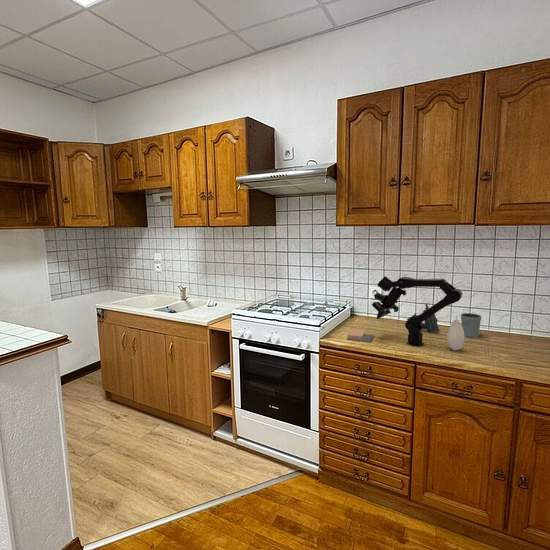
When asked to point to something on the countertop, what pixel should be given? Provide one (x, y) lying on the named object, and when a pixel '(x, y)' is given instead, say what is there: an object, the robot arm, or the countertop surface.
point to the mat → (366, 338)
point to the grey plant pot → (470, 324)
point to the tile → (356, 334)
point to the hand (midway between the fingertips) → (377, 318)
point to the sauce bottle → (455, 335)
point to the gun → (430, 323)
